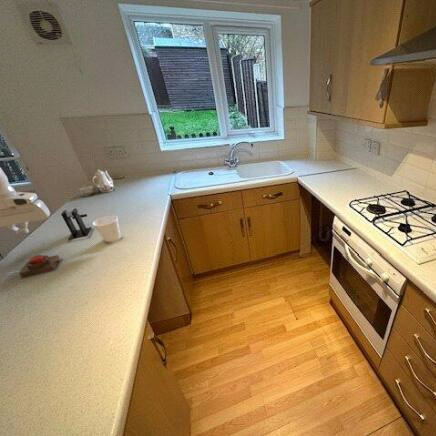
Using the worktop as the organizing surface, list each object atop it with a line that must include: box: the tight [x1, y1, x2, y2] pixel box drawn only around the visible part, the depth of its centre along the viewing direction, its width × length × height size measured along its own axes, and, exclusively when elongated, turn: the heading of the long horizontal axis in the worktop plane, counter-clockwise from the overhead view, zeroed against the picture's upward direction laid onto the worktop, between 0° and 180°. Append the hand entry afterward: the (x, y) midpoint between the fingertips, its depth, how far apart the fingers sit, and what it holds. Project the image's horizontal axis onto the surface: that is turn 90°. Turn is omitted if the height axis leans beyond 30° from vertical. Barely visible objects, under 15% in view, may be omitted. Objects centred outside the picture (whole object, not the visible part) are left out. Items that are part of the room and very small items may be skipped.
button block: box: [18, 254, 60, 279], centre depth 99 cm, size 10×8×4 cm
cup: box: [91, 215, 122, 243], centre depth 115 cm, size 10×10×11 cm
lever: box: [66, 210, 88, 220], centre depth 121 cm, size 12×6×2 cm
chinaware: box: [78, 169, 116, 197], centre depth 176 cm, size 28×17×17 cm, turn 178°
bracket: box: [60, 208, 93, 241], centre depth 119 cm, size 10×8×14 cm
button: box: [28, 254, 44, 264], centre depth 98 cm, size 4×4×2 cm
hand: (23, 233), depth 93 cm, fingers closed
